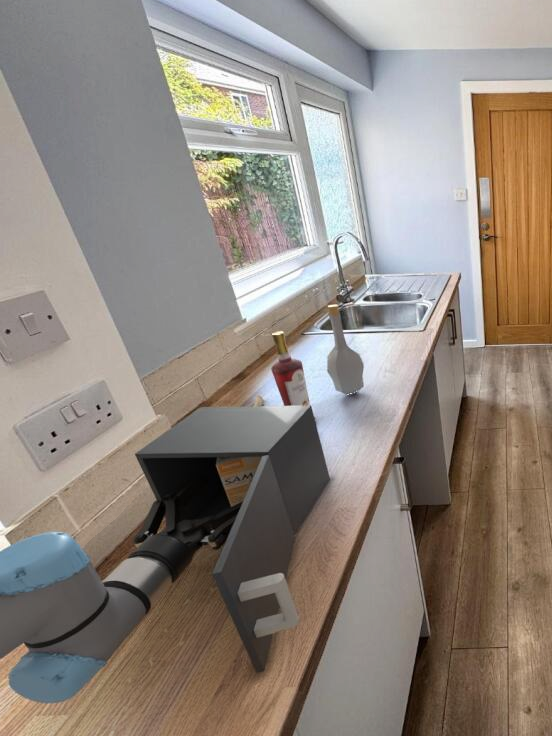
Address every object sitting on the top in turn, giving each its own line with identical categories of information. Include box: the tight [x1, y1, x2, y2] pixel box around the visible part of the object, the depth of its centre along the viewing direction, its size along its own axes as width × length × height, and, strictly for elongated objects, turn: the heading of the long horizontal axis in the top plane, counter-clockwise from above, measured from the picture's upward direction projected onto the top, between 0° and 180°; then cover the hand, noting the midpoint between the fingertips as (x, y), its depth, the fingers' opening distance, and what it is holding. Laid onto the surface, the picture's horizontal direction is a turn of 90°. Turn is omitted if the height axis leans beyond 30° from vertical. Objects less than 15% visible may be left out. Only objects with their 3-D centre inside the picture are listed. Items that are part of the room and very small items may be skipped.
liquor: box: [270, 331, 316, 419], centre depth 109 cm, size 7×7×28 cm
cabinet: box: [134, 404, 331, 536], centre depth 82 cm, size 16×24×20 cm, turn 89°
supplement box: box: [216, 457, 262, 507], centre depth 83 cm, size 8×5×13 cm, turn 120°
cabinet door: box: [211, 455, 301, 674], centre depth 64 cm, size 6×24×20 cm, turn 17°
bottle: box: [326, 304, 365, 396], centre depth 125 cm, size 11×11×30 cm
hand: (238, 476), depth 80 cm, fingers open, 13 cm apart
